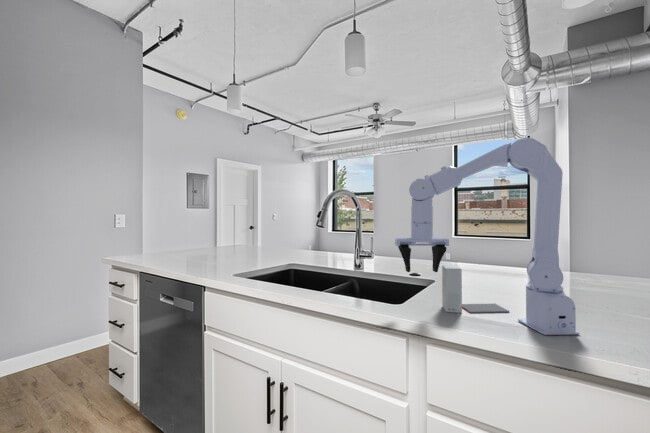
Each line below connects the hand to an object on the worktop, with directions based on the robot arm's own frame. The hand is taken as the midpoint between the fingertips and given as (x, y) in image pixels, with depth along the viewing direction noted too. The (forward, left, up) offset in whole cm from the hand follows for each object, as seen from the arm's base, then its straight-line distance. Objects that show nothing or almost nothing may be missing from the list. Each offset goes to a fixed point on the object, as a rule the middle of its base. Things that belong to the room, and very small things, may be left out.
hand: (421, 271), depth 87 cm
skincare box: (0, -8, -11) cm, 14 cm away
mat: (0, -17, -11) cm, 20 cm away
